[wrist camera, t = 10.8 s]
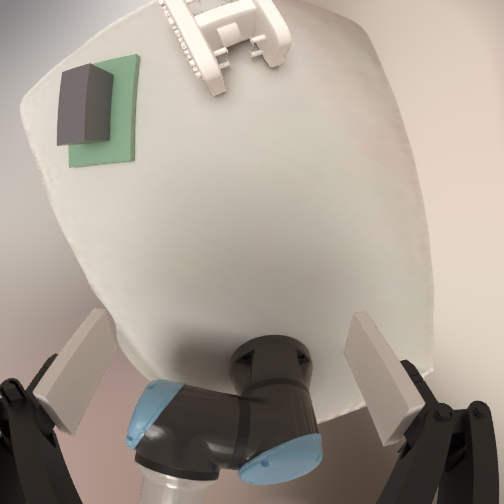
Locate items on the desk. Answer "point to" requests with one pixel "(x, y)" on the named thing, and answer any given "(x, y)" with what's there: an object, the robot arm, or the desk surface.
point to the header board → (114, 117)
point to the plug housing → (84, 106)
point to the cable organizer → (227, 34)
